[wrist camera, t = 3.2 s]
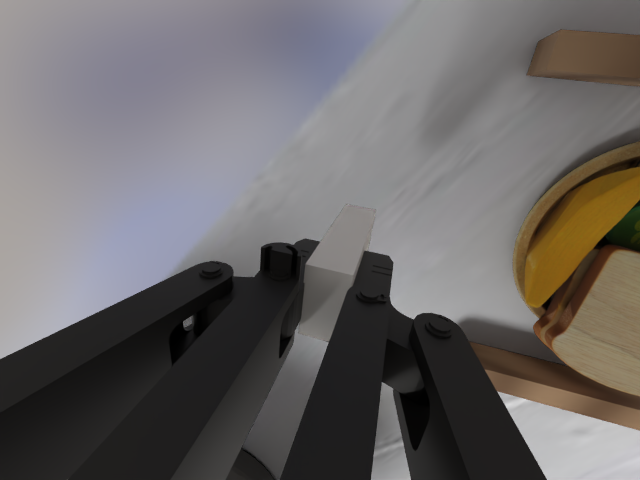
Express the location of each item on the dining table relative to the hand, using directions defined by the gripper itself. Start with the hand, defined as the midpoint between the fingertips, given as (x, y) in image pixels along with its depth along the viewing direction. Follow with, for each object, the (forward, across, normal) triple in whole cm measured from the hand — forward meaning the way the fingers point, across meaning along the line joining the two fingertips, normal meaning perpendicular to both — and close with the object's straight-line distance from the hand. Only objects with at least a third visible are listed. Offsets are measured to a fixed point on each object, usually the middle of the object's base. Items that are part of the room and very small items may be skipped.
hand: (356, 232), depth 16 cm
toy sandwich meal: (+6, -15, 0) cm, 17 cm away
